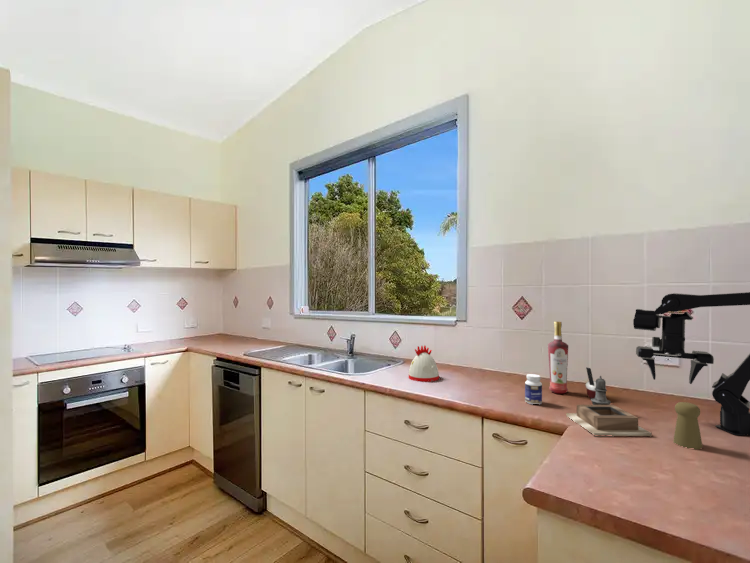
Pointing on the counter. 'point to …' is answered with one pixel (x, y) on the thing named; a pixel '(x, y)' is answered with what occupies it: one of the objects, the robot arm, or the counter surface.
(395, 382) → the counter surface
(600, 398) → the grey chess piece
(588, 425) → the socket block
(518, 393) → the counter surface
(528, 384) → the pill bottle
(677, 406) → the cork
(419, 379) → the kitchen timer
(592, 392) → the cocoa
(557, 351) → the liquor
